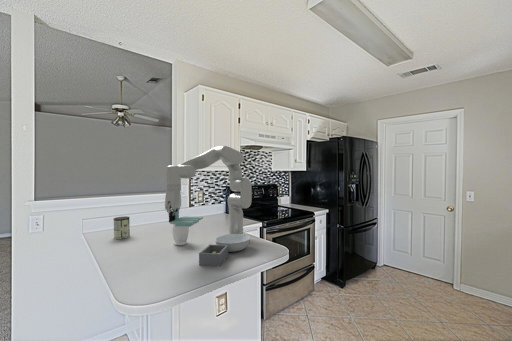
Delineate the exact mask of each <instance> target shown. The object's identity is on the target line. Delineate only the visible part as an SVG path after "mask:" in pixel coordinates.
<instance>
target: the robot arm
mask: <svg viewBox="0 0 512 341" xmlns="http://www.w3.org/2000/svg"><path fill="white" fill-rule="evenodd" d="M220 160H221V161H222V163H223V164H224V165H225V166H226V168H228V172H229V189H230V190H231V191H232V192H235V193H231V194H229V195H228V198H227V205H228V216H229V218H228V220H229V223H228V224H229V228H228V229H229V230H228V231H229V233H228V234H244V212H243V209H249V207H251V205H252V201H253V200H252V198H253V197H252V194H253V193H252V182H251V181H250V179H249V178H247V177H243V173H242V167H241V166H240V165H242V164H243V162H244V160H245V157H244V155H243V153H242V152H241V151H239V150H237V149H235V148H232V147H230V146H227V145H219V146H218V145H217V146H215V147H212V148H210V149H209V150H207V151H205V152H203V153H202V154H200V155H197V156H195V157H193V158H190V159H188V160H185V161H183V162H181V163H179V164H178V165H176V164H175V165H167V166H166V168H165V171H166V172H165V177H166V178H165V179H166V180H165V181H166V182H165V183H166V188H165V189H166V192H165V198H164V199H165V200H164V202H165V203H164V209H165V210H166V212H167V213H168V223H170V222H172V221H174V220H175V215H174V212H175V211H179V212H180V209H181V207H182V195H181V191H182V179H192V178H194V177H195V176H196V173H197V170H198V171H199V170H204V169H206V168H208V167H210V166H212V165H213V164H215V163H216V162H218V161H220ZM236 192H237V193H236ZM172 211H173V212H172Z"/></svg>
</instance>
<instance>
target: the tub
mask: <svg viewBox="0 0 512 341" xmlns="http://www.w3.org/2000/svg"><path fill="white" fill-rule="evenodd" d="M228 257H229V252H228V245H216V244H212V243H211V244H208V245H207V246H206V247H205V248H204V249H202V250H201V251H200V252H199V253H198V266H208V267H221V266H222V265H223V264H224V263H225V261H226V260H227V259H228Z"/></svg>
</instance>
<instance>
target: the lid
mask: <svg viewBox="0 0 512 341" xmlns="http://www.w3.org/2000/svg"><path fill="white" fill-rule="evenodd" d="M172 212H173V211H172ZM174 215H175V220H174V221H172V222H170V225H173V224H175V226H183V227H189V228H190V227H192V226H194V225H196V224H197V223H199V222H200V221H201V220H203V219H204V216H187V215H185V216H180V210H179V211H175V212H174Z"/></svg>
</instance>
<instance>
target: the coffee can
mask: <svg viewBox="0 0 512 341" xmlns="http://www.w3.org/2000/svg"><path fill="white" fill-rule="evenodd" d="M130 226H131V225H130V216H125V215H124V216H117V217H114V218H113V239H116V240H118V239H119V240H120V239H121V240H122V238H123V239H126V238H129V237H130V236H131V235H130V234H131V233H130V232H131V231H130V230H131V229H130Z"/></svg>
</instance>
